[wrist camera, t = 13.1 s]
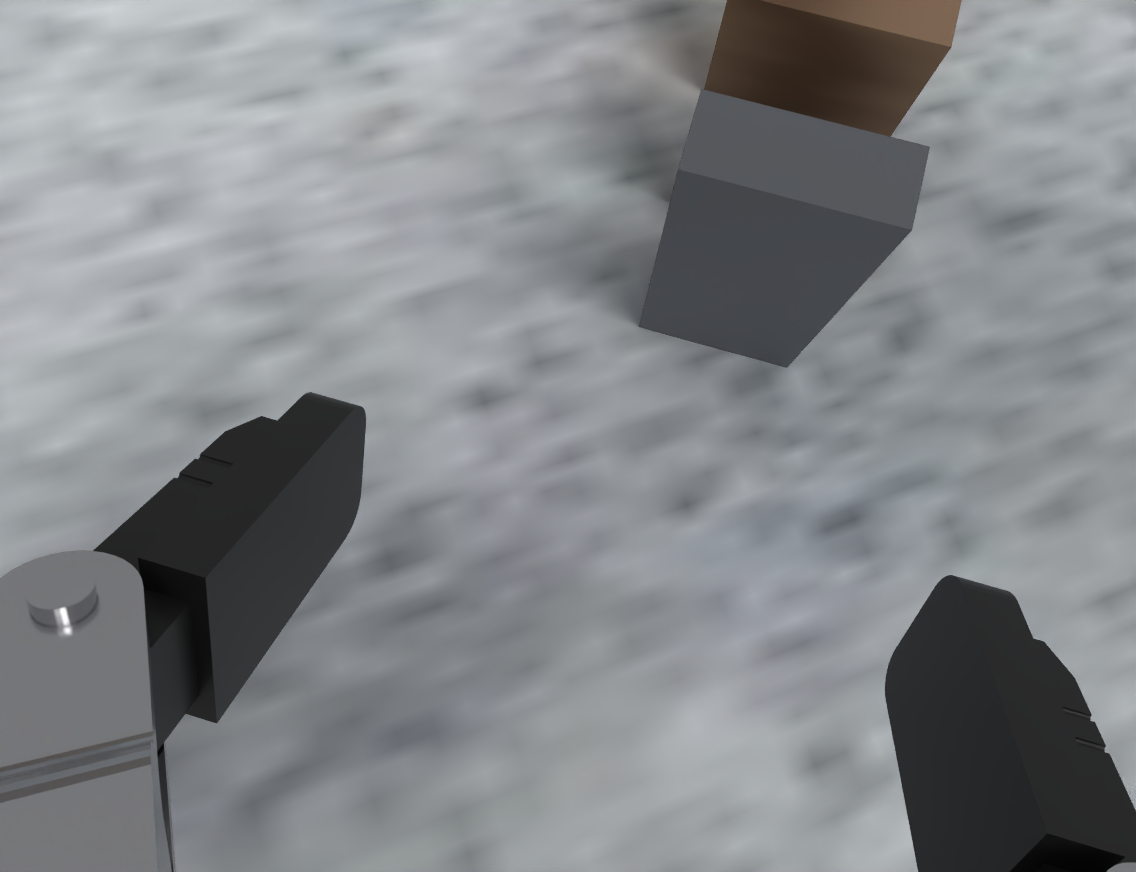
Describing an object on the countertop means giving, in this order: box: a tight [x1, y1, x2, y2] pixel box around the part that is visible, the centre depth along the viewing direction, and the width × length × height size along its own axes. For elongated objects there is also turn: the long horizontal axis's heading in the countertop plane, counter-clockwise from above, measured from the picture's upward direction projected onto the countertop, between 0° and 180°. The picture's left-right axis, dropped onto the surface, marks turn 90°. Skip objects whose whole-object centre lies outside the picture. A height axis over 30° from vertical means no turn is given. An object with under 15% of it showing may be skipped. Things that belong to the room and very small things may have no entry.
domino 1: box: [704, 0, 961, 137], centre depth 22 cm, size 5×2×10 cm, turn 74°
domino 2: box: [639, 89, 930, 367], centre depth 21 cm, size 5×2×10 cm, turn 74°
